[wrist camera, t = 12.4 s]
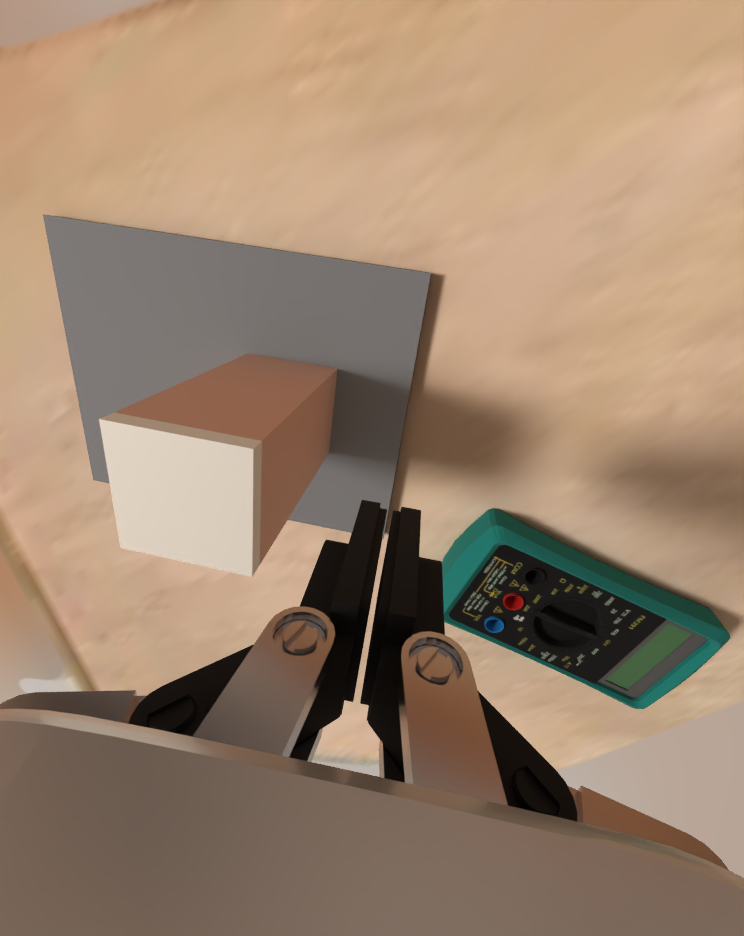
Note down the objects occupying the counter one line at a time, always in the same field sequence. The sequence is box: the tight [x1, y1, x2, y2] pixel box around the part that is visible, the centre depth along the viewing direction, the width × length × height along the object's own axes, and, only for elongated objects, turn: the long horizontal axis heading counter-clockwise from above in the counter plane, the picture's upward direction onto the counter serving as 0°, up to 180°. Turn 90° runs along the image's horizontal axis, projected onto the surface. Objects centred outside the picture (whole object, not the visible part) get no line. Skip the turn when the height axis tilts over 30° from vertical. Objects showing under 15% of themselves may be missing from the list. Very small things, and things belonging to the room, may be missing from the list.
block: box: [99, 353, 337, 577], centre depth 17 cm, size 4×4×10 cm
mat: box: [43, 215, 431, 539], centre depth 22 cm, size 18×14×1 cm
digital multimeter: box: [442, 509, 730, 709], centre depth 24 cm, size 7×15×3 cm, turn 67°
